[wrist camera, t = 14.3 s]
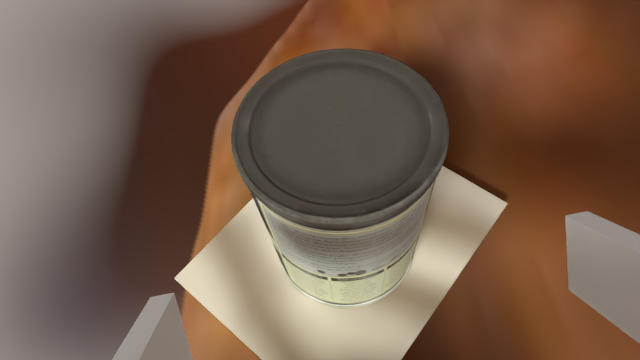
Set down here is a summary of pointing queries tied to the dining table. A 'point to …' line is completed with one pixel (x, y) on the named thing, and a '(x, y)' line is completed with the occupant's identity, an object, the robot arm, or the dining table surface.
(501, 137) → the dining table surface
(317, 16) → the dining table surface
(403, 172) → the coffee can
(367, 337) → the birch board
